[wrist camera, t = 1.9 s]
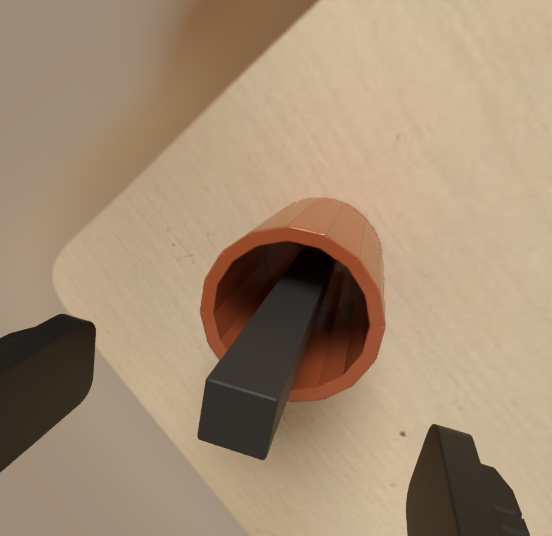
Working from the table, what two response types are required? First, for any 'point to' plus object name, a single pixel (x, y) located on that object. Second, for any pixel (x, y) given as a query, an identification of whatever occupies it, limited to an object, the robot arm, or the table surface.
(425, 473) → the robot arm
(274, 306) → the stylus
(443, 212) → the table surface
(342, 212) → the pen cup
